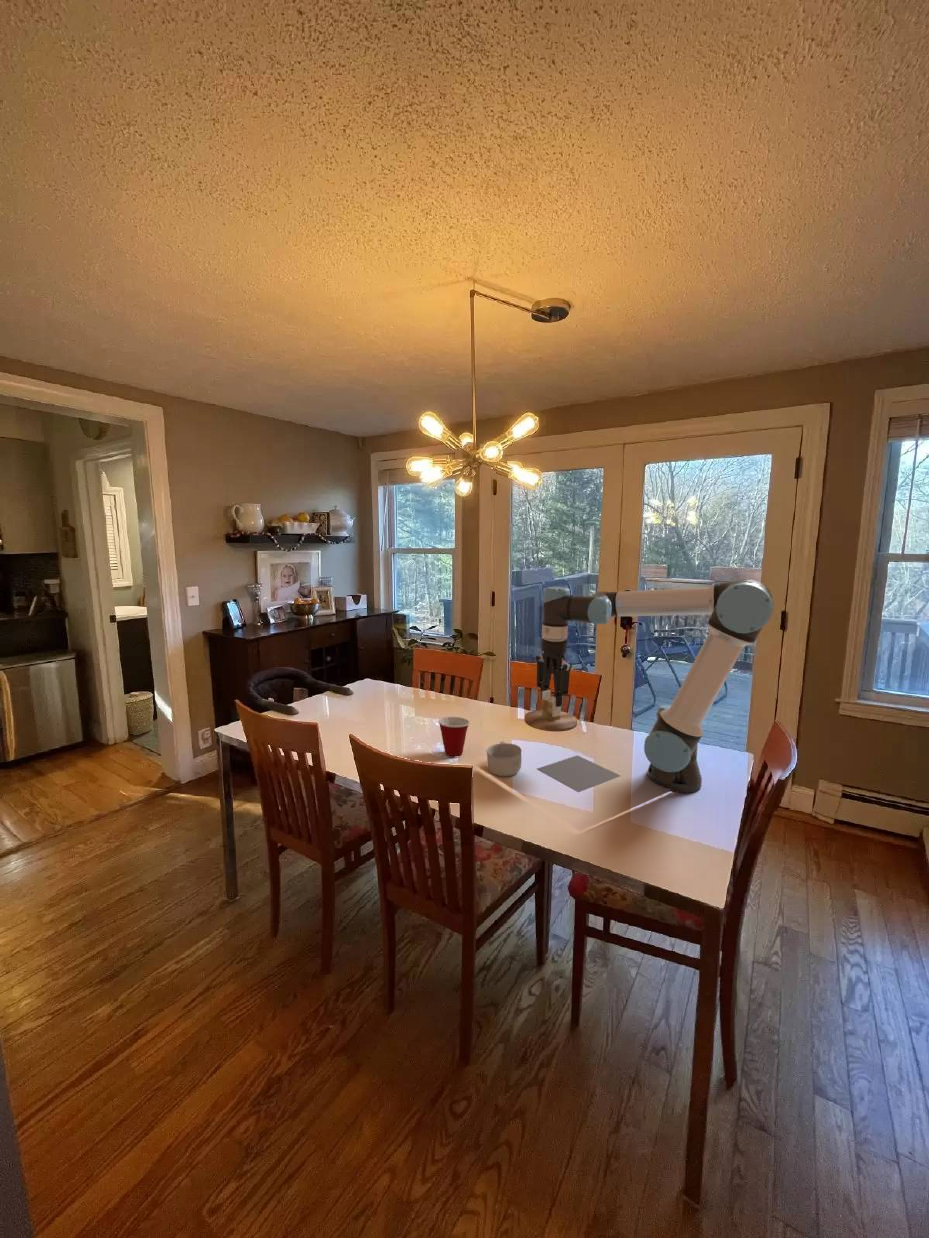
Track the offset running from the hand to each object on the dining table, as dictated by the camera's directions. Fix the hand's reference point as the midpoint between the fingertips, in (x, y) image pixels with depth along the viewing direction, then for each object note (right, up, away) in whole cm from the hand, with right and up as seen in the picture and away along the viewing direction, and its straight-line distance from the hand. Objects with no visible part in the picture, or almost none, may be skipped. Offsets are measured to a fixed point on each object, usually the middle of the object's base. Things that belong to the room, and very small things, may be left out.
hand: (550, 713), depth 158 cm
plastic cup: (-30, -17, +18) cm, 39 cm away
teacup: (-14, -19, +5) cm, 24 cm away
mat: (+9, -19, +1) cm, 21 cm away
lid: (0, -3, 0) cm, 3 cm away
